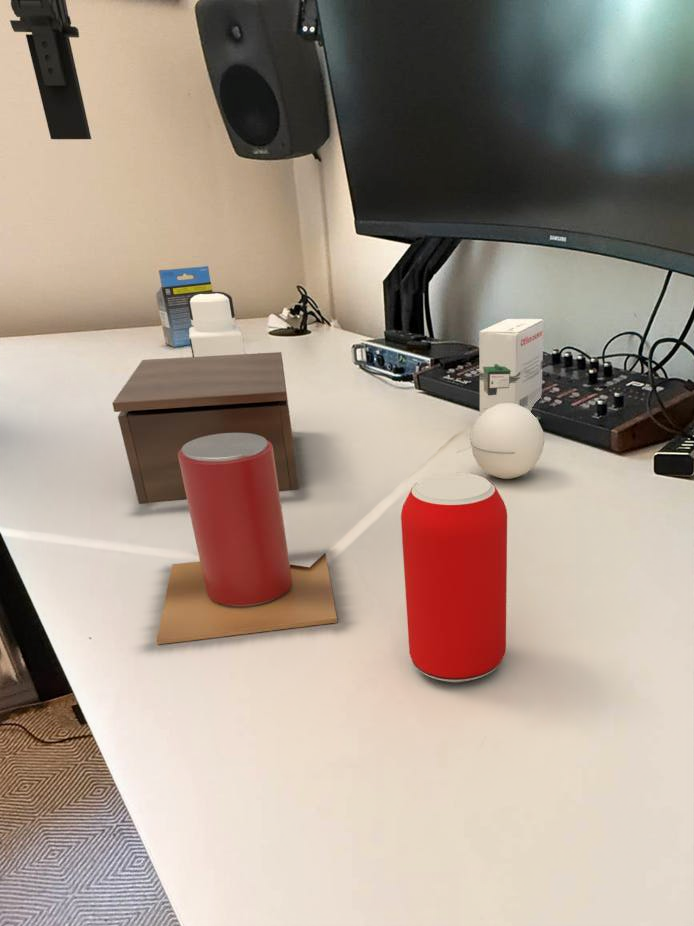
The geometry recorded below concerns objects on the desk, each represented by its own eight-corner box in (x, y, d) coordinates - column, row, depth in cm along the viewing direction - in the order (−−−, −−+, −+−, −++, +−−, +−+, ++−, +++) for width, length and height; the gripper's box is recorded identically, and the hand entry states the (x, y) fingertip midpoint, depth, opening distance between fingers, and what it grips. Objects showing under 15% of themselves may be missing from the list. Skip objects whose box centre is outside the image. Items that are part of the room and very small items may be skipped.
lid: (287, 400, 71) (286, 391, 71) (114, 412, 68) (111, 402, 68) (282, 359, 89) (281, 352, 88) (143, 367, 86) (142, 359, 85)
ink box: (506, 415, 101) (506, 315, 95) (543, 419, 99) (546, 318, 93) (477, 434, 94) (476, 328, 88) (516, 439, 92) (518, 331, 86)
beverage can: (397, 684, 49) (383, 500, 43) (426, 634, 55) (418, 464, 48) (493, 697, 48) (493, 510, 42) (514, 645, 53) (517, 471, 47)
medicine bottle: (198, 377, 120) (182, 290, 114) (246, 373, 122) (233, 288, 115) (198, 388, 114) (181, 297, 108) (249, 384, 116) (236, 295, 110)
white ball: (518, 460, 86) (520, 391, 82) (556, 481, 80) (559, 407, 76) (434, 476, 82) (432, 403, 78) (468, 499, 76) (467, 422, 72)
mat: (337, 622, 56) (336, 617, 56) (157, 644, 54) (156, 639, 53) (325, 552, 66) (324, 548, 66) (173, 568, 64) (172, 564, 63)
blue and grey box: (213, 337, 146) (200, 264, 140) (222, 341, 144) (209, 265, 137) (165, 344, 142) (149, 268, 135) (173, 347, 139) (158, 270, 133)
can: (190, 603, 58) (157, 454, 52) (235, 566, 63) (210, 428, 57) (266, 614, 56) (241, 463, 51) (307, 576, 61) (288, 435, 56)
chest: (300, 496, 77) (288, 405, 72) (140, 511, 74) (117, 416, 70) (292, 438, 93) (282, 359, 89) (161, 448, 90) (143, 367, 86)
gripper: (7, -349, 46) (109, 137, 58) (55, -251, 57) (132, 140, 69) (-140, -365, 44) (-4, 137, 57) (-62, -261, 55) (38, 141, 67)
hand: (71, 138), depth 63 cm, fingers closed
